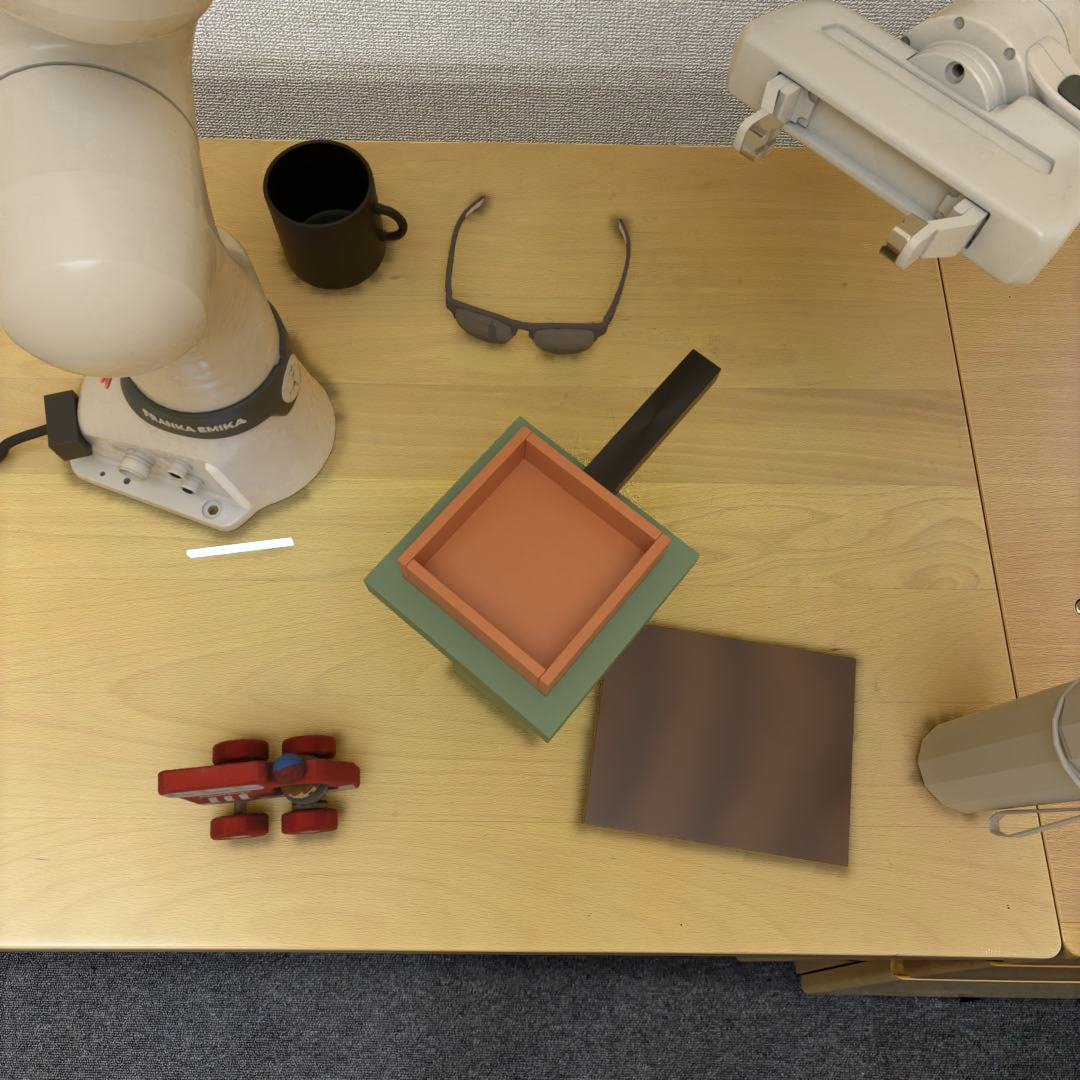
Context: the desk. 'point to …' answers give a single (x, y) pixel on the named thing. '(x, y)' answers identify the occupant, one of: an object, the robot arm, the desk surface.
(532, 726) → the stand
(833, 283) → the desk surface
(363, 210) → the mug
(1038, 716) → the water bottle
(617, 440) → the pan
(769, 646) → the board
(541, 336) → the sunglasses
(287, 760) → the toy fire truck
